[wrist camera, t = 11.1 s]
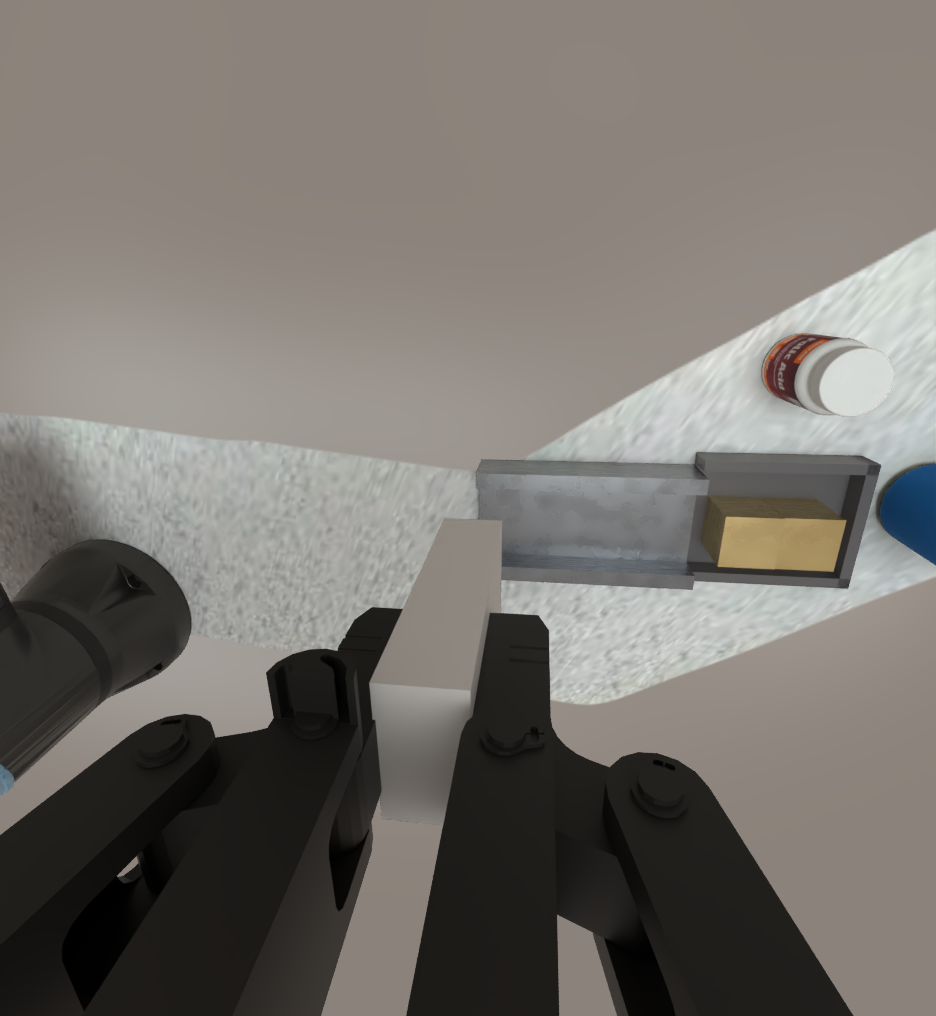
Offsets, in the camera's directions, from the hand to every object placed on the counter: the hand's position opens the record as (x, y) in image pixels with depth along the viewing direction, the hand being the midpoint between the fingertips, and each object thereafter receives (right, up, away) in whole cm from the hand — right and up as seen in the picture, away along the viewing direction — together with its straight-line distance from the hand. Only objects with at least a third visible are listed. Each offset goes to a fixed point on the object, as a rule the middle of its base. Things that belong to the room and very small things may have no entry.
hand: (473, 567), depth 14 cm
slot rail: (+9, +1, +31) cm, 32 cm away
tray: (+24, +1, +29) cm, 38 cm away
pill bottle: (+24, +12, +25) cm, 37 cm away
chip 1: (+21, +1, +29) cm, 36 cm away
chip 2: (+25, 0, +29) cm, 38 cm away
